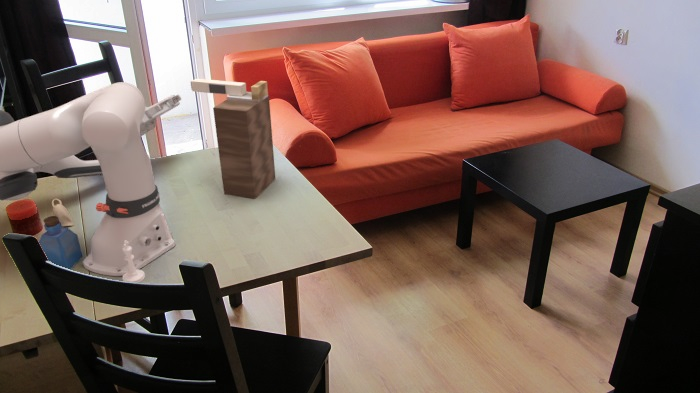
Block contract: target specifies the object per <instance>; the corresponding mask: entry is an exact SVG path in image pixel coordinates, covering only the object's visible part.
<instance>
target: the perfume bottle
mask: <svg viewBox="0 0 700 393" xmlns="http://www.w3.org/2000/svg"><path fill="white" fill-rule="evenodd" d="M43 222H44V225H43V227H44V230H45V232H44V233H42V234H41V236H40V237H39V238H40V239H39V240H38V243H40V245H41V247H42V249H43V251H44V252H45V254H46V256H47V258H48V260H49V261H51V262H52V263H54V264H56V265H59V266H62V267H65V268H68V269H70V270H71V269H72V268H73V267H75V265H76V264H77V263H78V262H79V261H80V260H81V259H82V258H83V257H84V255H83V250H82V248H81V247H82V246H81V244H80V241H79V237H78V234H76V232H74V231H72V230H71V229H70V228H69V227H63V226H62V225H61V222H60V221H59V218H58V217H57V216H53V215H50V216H47V217H45V218H43Z"/></svg>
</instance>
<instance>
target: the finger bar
mask: <svg viewBox="0 0 700 393" xmlns="http://www.w3.org/2000/svg"><path fill="white" fill-rule="evenodd" d="M190 86H191V91H192V92H196V93H197V92H198V93H206V94H216V95H225V96H229V95H235V96H243V95H244V94H246V93H247V92H248V91H247V83H246V82H242V81H241V82H238V81H231V80H230V81H228V80H217V79H208V78H207V79H206V78H194V79H192V80H191V81H190Z"/></svg>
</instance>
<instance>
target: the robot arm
mask: <svg viewBox="0 0 700 393" xmlns="http://www.w3.org/2000/svg"><path fill="white" fill-rule="evenodd" d="M180 101H182V97H181V95H180V94H177V95H176V94H173V95H169V96H168V97H166V98H164V99H162V100H160V101H158V102H156V103H154V104H152V105H150V106H146V101H145V98H144V95H143V93H142V92H141V90H140V89H139V88H138V87H137V86H135V85H133V84H132V83H129V82H126V81H125V82H124V81H121V82H120V81H119V82H114V83H111V84H109V85H107V86H104V87H102V88H99V89H96V90H94V91H92V92H91V91H90V92H89V93H87V94H85V95H81V96H80V97H77V98H75V99H73V100H70V101H69V102H67V103H64V104H61V105H59V106H57V107H54V108H52V109H49V110H45V111H41V112H39V113H36V114H33V115H31V116H26V117H24V118H21V119H18V120H16V121H15V120H14V118H13V117H12V116H11V114H10V113H9V112H8V111H7V112H6V111H4V110H2V109H0V201H9V202H10V201H19V200H21V199H25V198H26V197H28V196H29V195H30V194H32V193H33V192H34V191H36V189H37V188H38V185H39V184H38V176H37V173H40V172H43V173H48V174H51V175H53V176H55V177H57V179H58V178H59V179H74V178H76V179H77V178H85V177H95V176H96V177H97V176H102V178H103V182H104V186H105V190H106V195H105V196H106V197H105V203H102V202H98V203H96V205H95V210H96V211H97V212H102V213H104V215H103V217H102V219H101V221H100V222H99V225H98V226H97V228H96V229H95V232H94V233H93V235H92V237H91V239H90V253H89V254H88V255H86V257H85V258H84V259H83V260H82V265H83V267H84V268H85V269H86V270H88V271H90V272H93V273H95V274H100V275H104V276H112V277H113V276H114V277H123V275H124V274H125V273H127V272H128V261H127V260H125V259H124V257H125V256H126V255H125V253H124V252H123V248H124V246H123V245H124V244H125V243H124V241H125V240H127V241H129V244H128V246H131V247H132V253H131V254H132V255H134V259H132V260H133V263H134V266H135V268H136V269H139V270H141V268H143V267H145V266H147V265H148V264H149V263H151V262H152V261H154V260H155V259H157V258H159V257H160V256H162V255H164V254H166V253H167V251H169V250H171V249H173V248H174V247H175V246H176V242H175V240H174V238H173V236H172V232H171V230H170V229H169V226H168V223H167V220H166V216H165V214H164V213H165V212H164V211H163V209H162V207H161V205H160V201H161V198H160V191H159V188H158V186H157V184H156V183H155V176H154V172H153V167H152V160H151V158H150V156H149V155H148V153H147V151H146V148H145V147H144V146H145V145H144V144H143V143H144V142H143V141H142V138H141V137H142V136H145V135H146V134H148V133H150V132H152V131H153V130H154V129H155V127H156V124H157V118H158V117H161V116H162V115H164V114H167V113H168V112H170V111H171V110H173V109H175V108H177V107H178V106H180V105H181V102H180ZM89 148H90V149H92V152H93V154H94V155H95V157H96V159H94V160H93V159H92V160H91V159H90V160H83V159H80V158H78V157H77V156H75V155H78V154H80V153H81V152H83V151H85V150H86V149H89Z"/></svg>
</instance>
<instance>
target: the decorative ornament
mask: <svg viewBox="0 0 700 393" xmlns="http://www.w3.org/2000/svg"><path fill="white" fill-rule="evenodd" d="M56 201H57V202H58V203H57V204H55V202H56ZM51 206H52V216H57V217H58V218H59V221H60V222H61V225H62V226H61V227H71V226H74V225H75V224H74V221H73V218H72V216H71V214H70V212H69V211H68V209H67V208H66V207H65V206H64V205H63V203H62V200H60V199H59V198H54V199H53V200H52V201H51Z"/></svg>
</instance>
